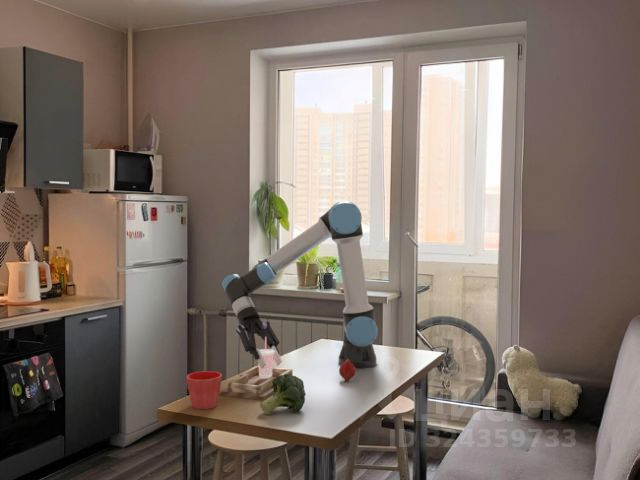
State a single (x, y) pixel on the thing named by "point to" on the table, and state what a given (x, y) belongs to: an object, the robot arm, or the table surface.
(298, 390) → the vegetable
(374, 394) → the table surface
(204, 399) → the flower pot
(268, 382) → the light brown wooden tray
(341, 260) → the robot arm
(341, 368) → the pomegranate
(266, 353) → the beverage cup
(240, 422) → the table surface
